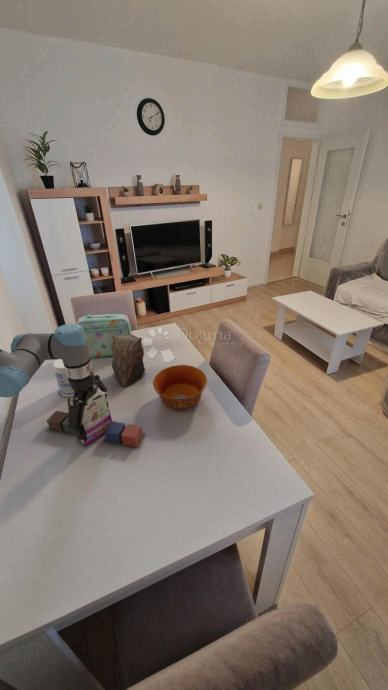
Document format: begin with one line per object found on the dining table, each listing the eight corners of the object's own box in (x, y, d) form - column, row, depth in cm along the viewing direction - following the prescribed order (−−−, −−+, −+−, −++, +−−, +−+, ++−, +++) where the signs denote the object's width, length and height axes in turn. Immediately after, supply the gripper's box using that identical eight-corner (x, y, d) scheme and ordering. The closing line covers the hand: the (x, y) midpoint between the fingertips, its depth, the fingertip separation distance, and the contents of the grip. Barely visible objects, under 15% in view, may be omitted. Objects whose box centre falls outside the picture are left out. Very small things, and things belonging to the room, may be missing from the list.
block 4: (123, 445, 92) (121, 435, 90) (129, 434, 96) (127, 423, 94) (137, 448, 91) (135, 437, 88) (142, 436, 95) (141, 426, 93)
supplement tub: (58, 399, 112) (48, 369, 105) (63, 384, 120) (55, 356, 113) (83, 396, 114) (75, 366, 106) (86, 382, 122) (79, 354, 114)
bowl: (157, 422, 101) (155, 401, 96) (152, 386, 119) (150, 367, 114) (212, 414, 105) (213, 393, 100) (199, 380, 123) (200, 361, 118)
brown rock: (112, 374, 127) (105, 336, 117) (137, 365, 133) (133, 328, 123) (123, 388, 118) (116, 348, 108) (149, 378, 124) (145, 339, 114)
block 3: (106, 442, 93) (104, 431, 91) (113, 431, 97) (111, 420, 95) (120, 445, 92) (118, 434, 90) (126, 433, 96) (125, 423, 94)
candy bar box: (106, 421, 101) (98, 386, 93) (114, 428, 99) (106, 392, 90) (77, 439, 94) (66, 402, 86) (85, 447, 91) (74, 410, 83)
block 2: (65, 433, 96) (61, 423, 94) (73, 423, 101) (70, 413, 98) (77, 436, 95) (74, 426, 93) (86, 425, 100) (83, 415, 97)
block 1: (50, 430, 98) (46, 420, 95) (59, 420, 102) (56, 410, 99) (62, 433, 97) (59, 423, 94) (71, 422, 101) (68, 412, 98)
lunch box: (78, 361, 136) (68, 322, 126) (81, 350, 145) (72, 313, 134) (133, 355, 141) (128, 317, 130) (133, 345, 150) (128, 308, 139)
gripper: (66, 401, 72) (83, 456, 83) (111, 354, 93) (120, 402, 104) (42, 397, 74) (61, 451, 85) (91, 351, 94) (102, 399, 105)
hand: (93, 424), depth 94 cm, fingers open, 12 cm apart
